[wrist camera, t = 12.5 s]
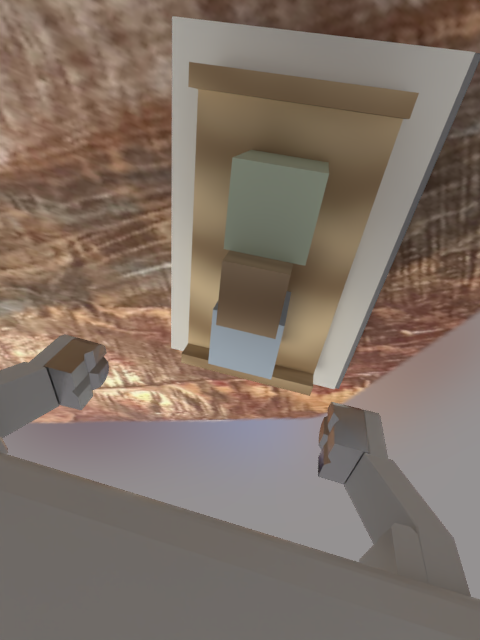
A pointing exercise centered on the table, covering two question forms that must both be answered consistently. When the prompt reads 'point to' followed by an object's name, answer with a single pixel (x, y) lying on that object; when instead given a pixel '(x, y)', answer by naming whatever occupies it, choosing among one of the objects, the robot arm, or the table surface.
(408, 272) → the table surface
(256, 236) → the pale green cube
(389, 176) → the block
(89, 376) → the robot arm
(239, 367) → the blue-grey cube
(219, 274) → the tan tray
